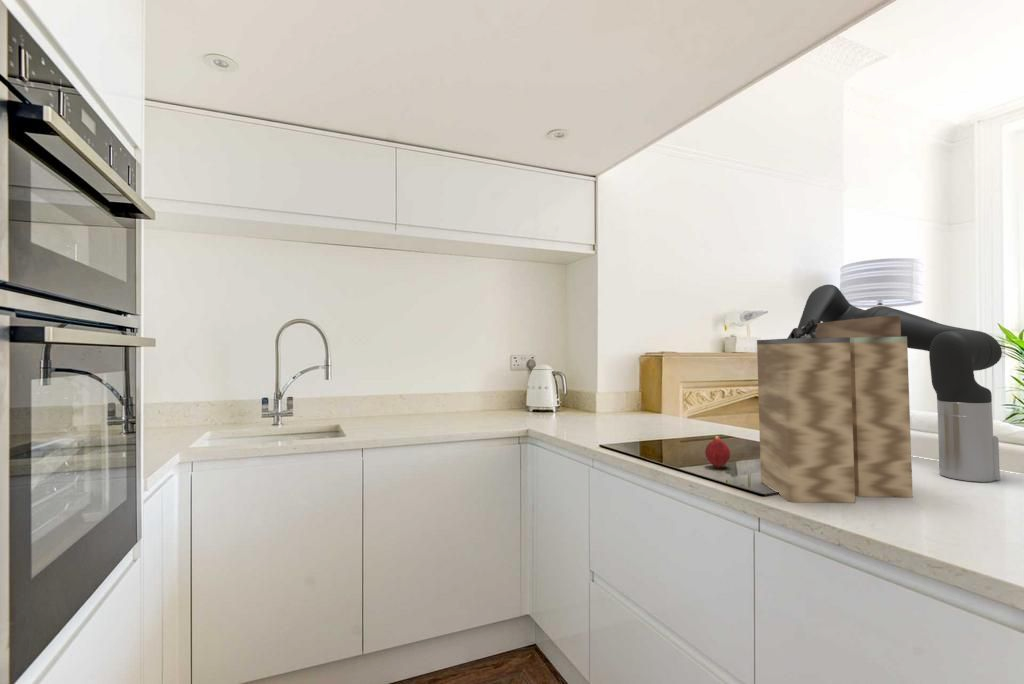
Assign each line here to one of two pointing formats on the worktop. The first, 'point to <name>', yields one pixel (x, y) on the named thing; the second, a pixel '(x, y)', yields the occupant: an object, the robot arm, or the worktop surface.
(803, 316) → the robot arm
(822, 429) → the tower
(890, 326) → the walnut bar
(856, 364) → the tower
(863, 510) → the worktop surface
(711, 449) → the onion
